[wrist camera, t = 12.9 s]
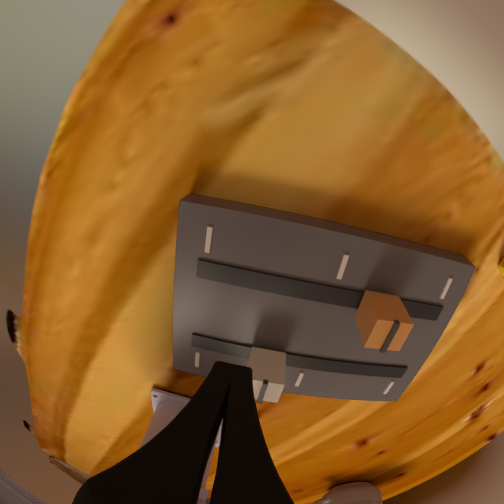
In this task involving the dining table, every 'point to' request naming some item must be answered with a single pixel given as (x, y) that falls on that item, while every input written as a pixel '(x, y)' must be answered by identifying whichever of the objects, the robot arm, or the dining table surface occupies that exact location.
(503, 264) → the watch
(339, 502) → the teacup
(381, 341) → the fader orange
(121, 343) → the dining table surface
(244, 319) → the fader panel
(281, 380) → the fader ivory
